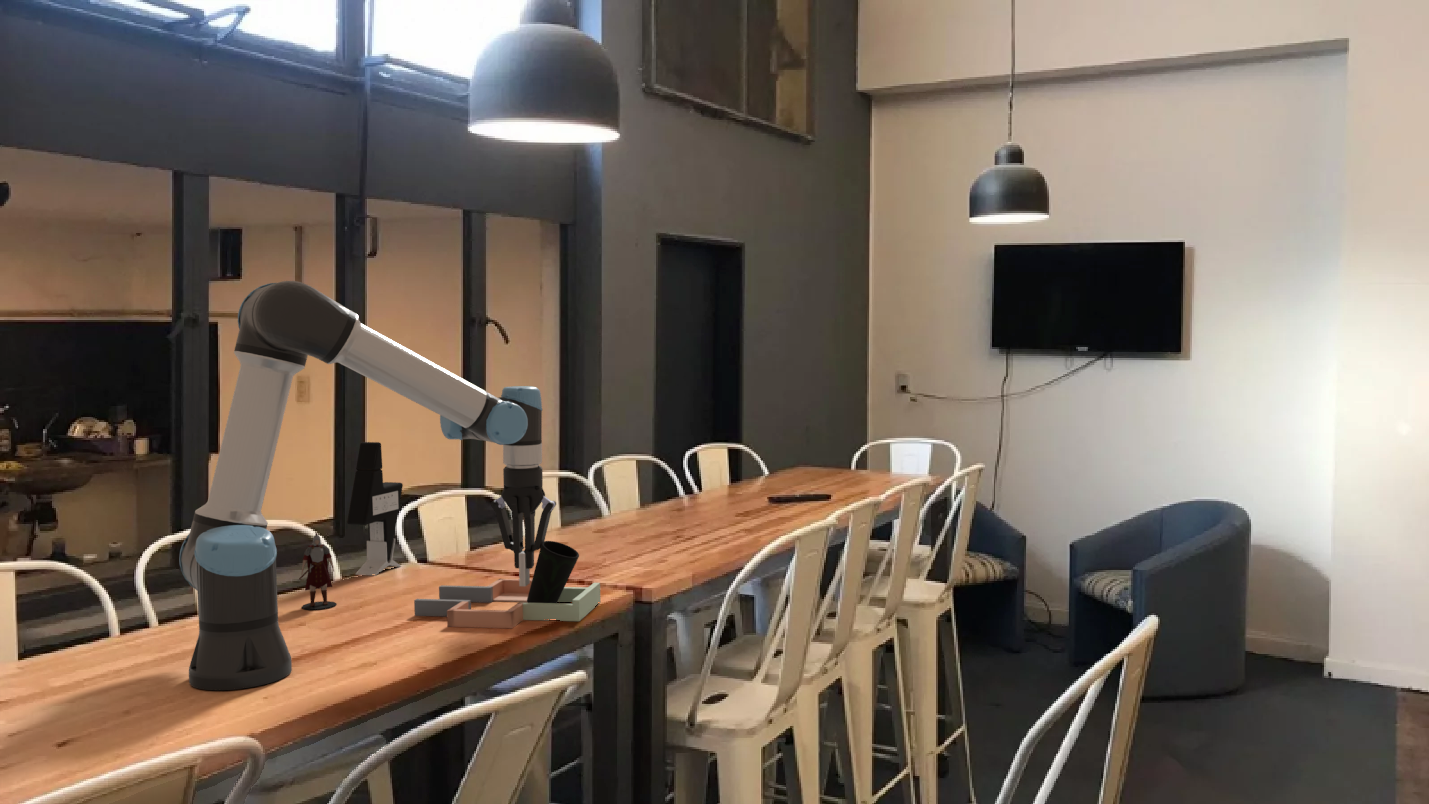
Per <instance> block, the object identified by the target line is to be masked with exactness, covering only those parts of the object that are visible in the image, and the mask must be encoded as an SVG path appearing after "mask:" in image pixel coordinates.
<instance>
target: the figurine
mask: <svg viewBox="0 0 1429 804" xmlns="http://www.w3.org/2000/svg"><path fill="white" fill-rule="evenodd" d="M321 540H322V539H321V537H320V535H318V532H315V535H314V536H313V539H312V543H311V544H310V545H308V546H307V548H306V549H305V550H304V553H303V558H302V566H301V567H302V568H301V576H300V577H299V578H298V579H299V580H298V581H301V579H302V578H303V577H304V576H305V575H307V577H306V580H305V581H306V583H305V588H304V590H305V591H309V596H310V597H309V598H310V602H308V603H305V604H303V605H302V606H301V609H302V610H304V611H322V610H328V609H332V608H335V607H336V606H337V602H336V601H328V591H327V588H333V583H332V580H331V577H330V573H329V564H330V566H331V568H332V571H333V572H335V569H334V568H335V567H334V564H333V559H332V554H331V550H330V548H329V547H328V546H327V545H325V544H324V543H322V541H321ZM328 562H329V564H328ZM306 565H307V570H306V571H305V572H304V570H305V566H306ZM317 589H320V593H321V596H322V601H315V599H316V593H317V592H316V591H317Z"/></svg>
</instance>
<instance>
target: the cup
mask: <svg viewBox="0 0 1429 804" xmlns="http://www.w3.org/2000/svg"><path fill="white" fill-rule="evenodd" d="M579 558H580V554H579V552H578V551H577V550H576V549H574V548H573V547H572V546H570V545H567V544H564V543H562V542H559V541H553V540H545V541H544V542H542V544H541V548H540V549H539V553H538V557H537V560H536V563H535V568H534V571H533V575H532V583H531V587H530V590H529V594H528V598H527V602H526V603H557V602H558V599H559V597H560V595H561V593H562V591H563V589H564V587H566V584H567V583H568V581H569V578H570V576H571V574H572V572H573V571H574V568H575V566H576V563H577V561H578V560H579Z"/></svg>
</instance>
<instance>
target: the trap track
mask: <svg viewBox="0 0 1429 804" xmlns="http://www.w3.org/2000/svg"><path fill="white" fill-rule="evenodd" d="M532 579H533V578H532ZM532 579H531V578H530V583H529V584H528V585H527V586H519V578H498V579H496V580H495V581H493V582H492V583H489V584H488V585H487V586H485V585H483V586H482V585H480V586H479V585H478V586H477V585H439V587H438V596H439V598H415V599H414V600H413V601H414V616H415V617H417V616H419V617H447V618H446V621H447V622H446V623H447V627H453V628H483V629H484V628H486V629H487V628H490V629H514V627H516V626H517V625H518V624H520V623H521V622H523V621H547V620H546V619H549V620H550V619H556V620H560V621H559V622H562V621H563V622H581V620H583V619H584V618H585V617H586V616H587V615H589V613H590V612H591V611H593V610H594V609H595V608H596V607H597V606H598V605H599V604H598V602H600V603H601V582H593V583H592V584H590V585H589V586H588V587H587V586H586V587H584V586H583V587H581V586H580V587H579V586H565V587H564V589H563V591H562V593H561V595H560V597H559V599H558V602H572V603H528V602H527V598H528V594H529V590H530V587H531V583H532ZM493 602H510V603H511V602H513V603H515V602H517V603H516V604H514V605H513V606H511V607H510V608H509V609H507V610H505V609H503V610H501V609H472V603H489V604H490V603H493ZM597 604H598V605H597ZM596 605H597V606H596ZM595 606H596V607H595ZM544 619H545V620H544ZM549 620H548V621H549Z"/></svg>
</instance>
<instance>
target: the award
mask: <svg viewBox="0 0 1429 804" xmlns="http://www.w3.org/2000/svg"><path fill="white" fill-rule="evenodd" d="M358 449H359V450H358V455H357V456H358V457H357V459H356V468H355V470H356V471H355V473H354V480H353V485H352V491H351V496H350V497H351V498H350V502H349V508H348V514H347V521H346V522H347V525H353V526H354V525H355V526H367V529H368V531H367V532H368V540H366V561H365V562H364V563H363V564H362V566H360V567H359V569H358V571H356V572H355V575H362V576H373V575H372V574H375V575H374V576H377V575H378V574H380V573H381V572H382V571H383V570H385V569H386V568H387V567H394V568H395V567H396V568H397V567H398V568H401V567H402V565H401V564H399V562H397V561H395V560H394V559H393V557H394V551H395V545H396V538H394V537H395V533H396V526H397V519H398V516H399V515H398V514H399V509H400V504H401V498H402V492H403V487H404V484H403V482H396V481H395V482H390V481H389V482H388V481H385V482H384V477H383V476H384V475H383V470H382V469H383V458H382V457H383V455H382V452H383V451H382V444H381V442H379V441H372V442H370V441H361V442H360V445H359V448H358ZM379 572H380V573H379ZM374 576H373V577H374Z"/></svg>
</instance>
